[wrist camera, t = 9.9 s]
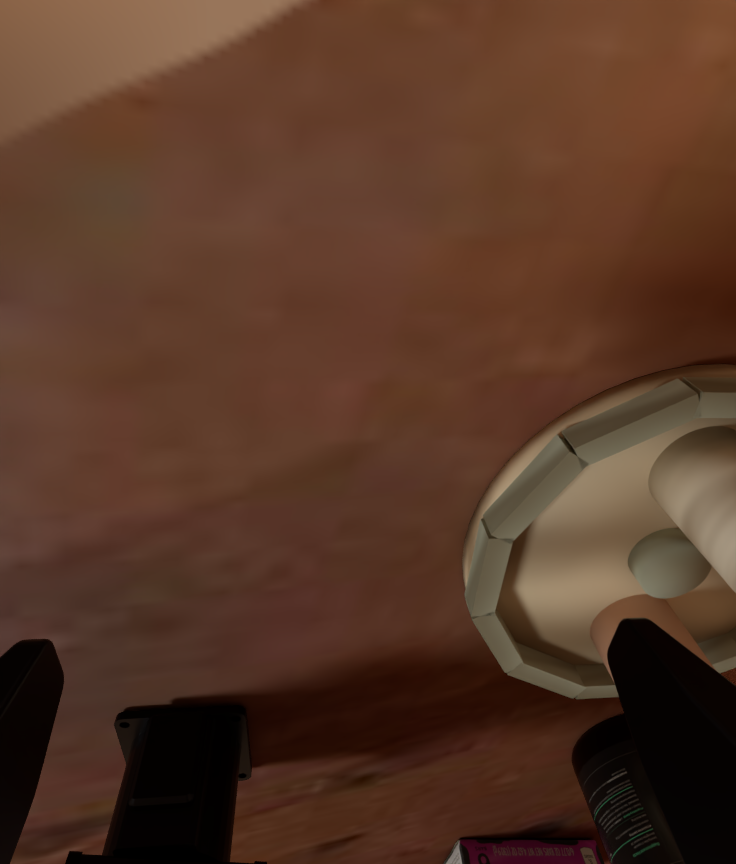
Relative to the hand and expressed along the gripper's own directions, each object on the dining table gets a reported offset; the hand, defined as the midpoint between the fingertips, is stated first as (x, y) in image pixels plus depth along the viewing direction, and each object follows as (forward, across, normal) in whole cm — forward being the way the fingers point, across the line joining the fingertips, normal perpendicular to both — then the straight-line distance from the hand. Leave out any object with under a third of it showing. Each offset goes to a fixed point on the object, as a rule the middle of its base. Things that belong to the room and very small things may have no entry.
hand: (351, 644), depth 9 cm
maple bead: (+11, -15, +4) cm, 19 cm away
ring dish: (+12, -15, +9) cm, 21 cm away
